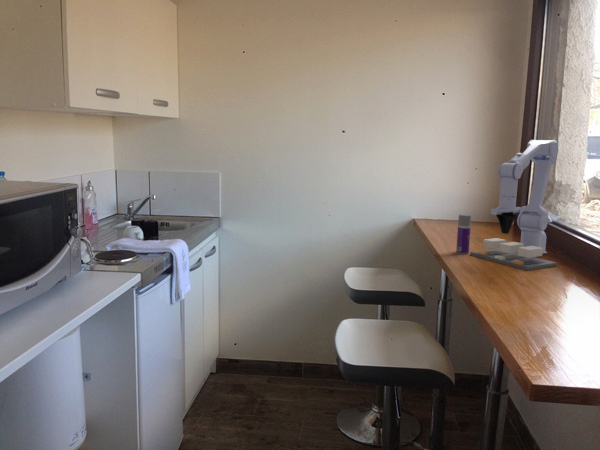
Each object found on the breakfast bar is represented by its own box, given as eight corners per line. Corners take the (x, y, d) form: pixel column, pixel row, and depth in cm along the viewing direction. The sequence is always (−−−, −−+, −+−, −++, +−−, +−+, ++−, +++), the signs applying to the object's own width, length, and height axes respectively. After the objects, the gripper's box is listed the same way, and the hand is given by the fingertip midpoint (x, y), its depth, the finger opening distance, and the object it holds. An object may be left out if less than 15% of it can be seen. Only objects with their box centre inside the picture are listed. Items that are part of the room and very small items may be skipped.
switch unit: (497, 251, 211) (497, 246, 211) (556, 265, 188) (556, 260, 188) (470, 255, 204) (470, 249, 203) (527, 270, 181) (528, 264, 181)
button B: (513, 249, 199) (514, 241, 198) (523, 251, 195) (524, 243, 195) (499, 250, 195) (500, 243, 195) (509, 253, 192) (509, 245, 191)
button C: (531, 253, 192) (532, 245, 192) (542, 255, 188) (543, 248, 188) (517, 255, 188) (518, 247, 188) (528, 257, 185) (528, 249, 184)
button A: (496, 245, 206) (496, 237, 205) (505, 247, 202) (506, 240, 202) (482, 246, 202) (483, 239, 202) (491, 248, 198) (492, 241, 198)
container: (469, 254, 204) (472, 216, 202) (456, 253, 205) (459, 215, 203) (468, 252, 209) (470, 214, 206) (455, 251, 210) (458, 213, 207)
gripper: (512, 194, 199) (509, 229, 201) (485, 195, 192) (482, 232, 194) (528, 196, 193) (525, 233, 195) (501, 198, 186) (498, 236, 188)
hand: (505, 233), depth 194 cm, fingers closed
